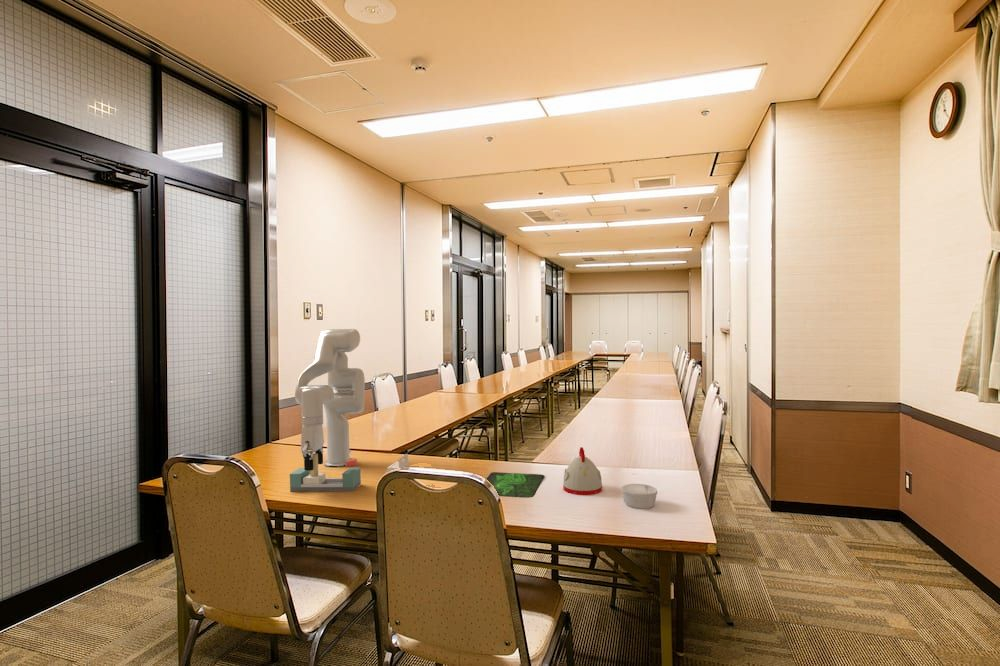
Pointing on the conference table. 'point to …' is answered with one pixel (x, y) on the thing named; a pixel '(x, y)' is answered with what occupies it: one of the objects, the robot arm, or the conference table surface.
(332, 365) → the robot arm
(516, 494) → the mouse mat
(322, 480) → the carriage
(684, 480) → the conference table surface
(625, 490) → the ramekin
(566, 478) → the kitchen timer
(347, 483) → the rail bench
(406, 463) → the white angular piece
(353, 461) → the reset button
